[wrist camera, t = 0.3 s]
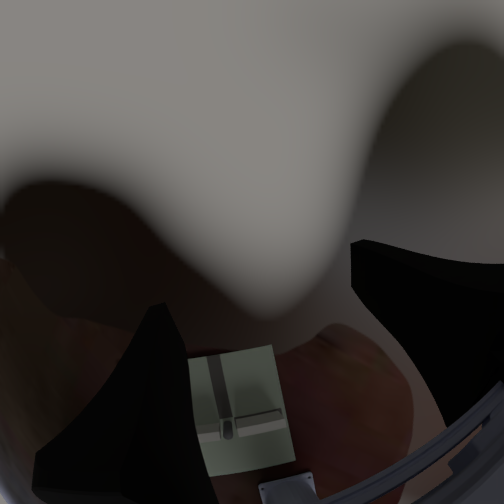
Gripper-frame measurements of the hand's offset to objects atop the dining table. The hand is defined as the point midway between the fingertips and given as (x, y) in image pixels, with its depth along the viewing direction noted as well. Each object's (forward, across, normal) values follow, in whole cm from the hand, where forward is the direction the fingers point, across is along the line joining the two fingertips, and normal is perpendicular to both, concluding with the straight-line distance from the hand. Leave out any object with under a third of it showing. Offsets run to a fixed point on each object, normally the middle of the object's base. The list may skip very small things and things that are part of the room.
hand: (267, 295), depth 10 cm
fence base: (+12, +3, +29) cm, 31 cm away
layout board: (+14, +9, +28) cm, 32 cm away
